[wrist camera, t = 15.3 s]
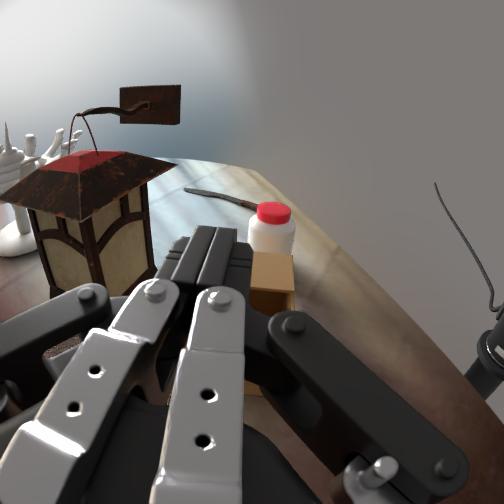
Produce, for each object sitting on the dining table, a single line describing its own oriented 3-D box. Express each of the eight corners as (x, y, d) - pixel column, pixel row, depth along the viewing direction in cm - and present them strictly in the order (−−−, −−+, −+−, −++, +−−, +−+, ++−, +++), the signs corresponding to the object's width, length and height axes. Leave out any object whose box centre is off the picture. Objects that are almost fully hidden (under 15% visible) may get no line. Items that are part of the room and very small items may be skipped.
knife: (180, 187, 83) (194, 182, 86) (181, 191, 84) (194, 186, 87) (263, 217, 69) (276, 210, 73) (263, 221, 70) (275, 214, 73)
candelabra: (-2, 308, 38) (-52, 152, 24) (-45, 250, 50) (-71, 148, 35) (124, 224, 65) (114, 100, 50) (48, 197, 76) (37, 107, 62)
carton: (281, 397, 33) (297, 341, 28) (181, 385, 33) (171, 327, 28) (282, 312, 46) (292, 254, 40) (203, 304, 46) (202, 245, 40)
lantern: (201, 256, 57) (204, 84, 41) (119, 358, 35) (67, 105, 19) (122, 236, 61) (111, 88, 45) (34, 311, 40) (-17, 120, 23)
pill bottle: (285, 281, 52) (295, 223, 46) (240, 272, 53) (244, 214, 47) (291, 257, 58) (300, 203, 53) (251, 249, 60) (256, 196, 54)
